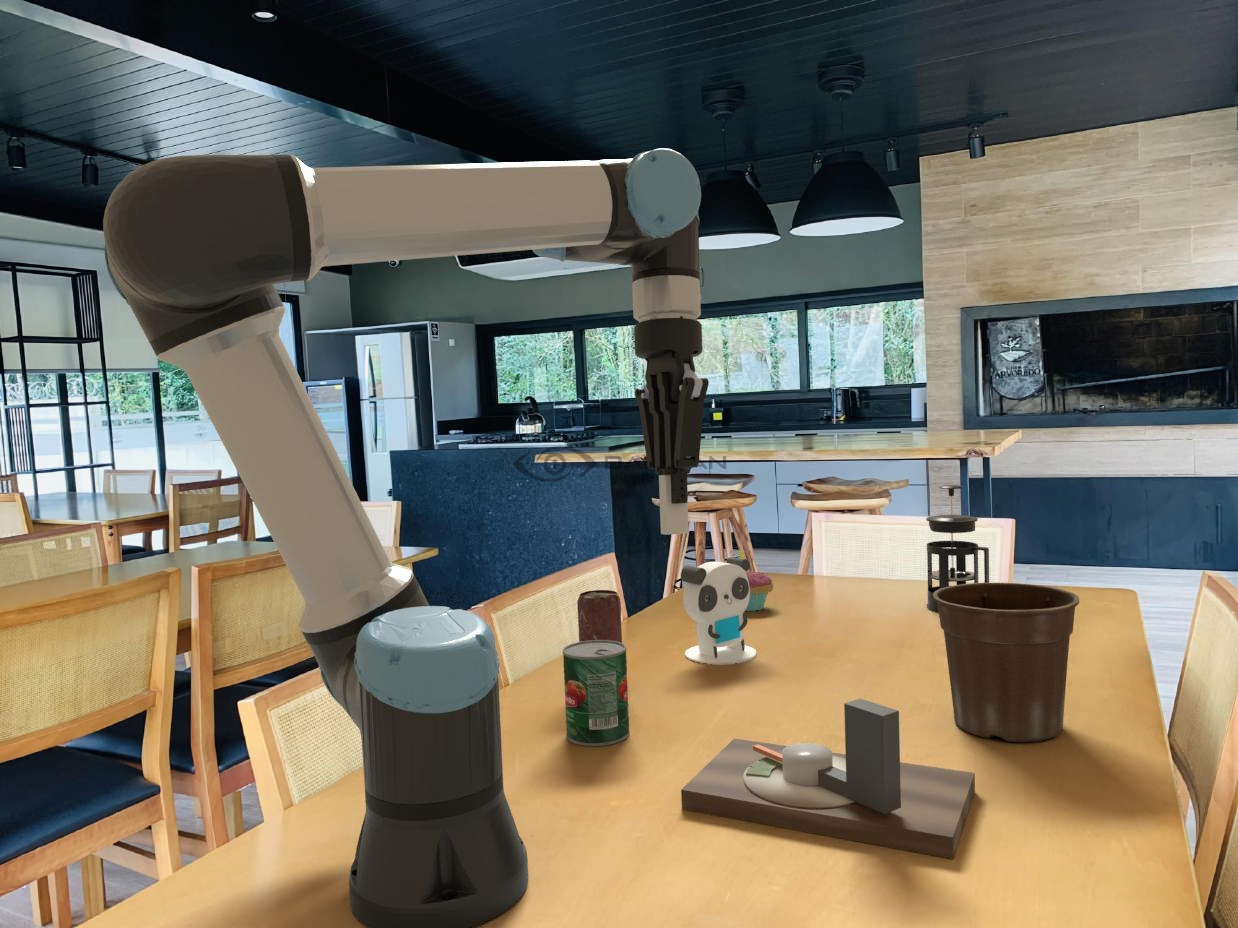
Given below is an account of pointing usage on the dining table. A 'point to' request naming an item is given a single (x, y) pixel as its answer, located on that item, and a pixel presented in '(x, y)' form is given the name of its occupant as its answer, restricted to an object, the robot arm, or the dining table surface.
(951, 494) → the french press
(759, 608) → the cupcake
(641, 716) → the dining table surface
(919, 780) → the dial board
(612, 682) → the canned tomato
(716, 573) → the panda figurine
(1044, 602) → the plant pot
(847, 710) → the dial crank
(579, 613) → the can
